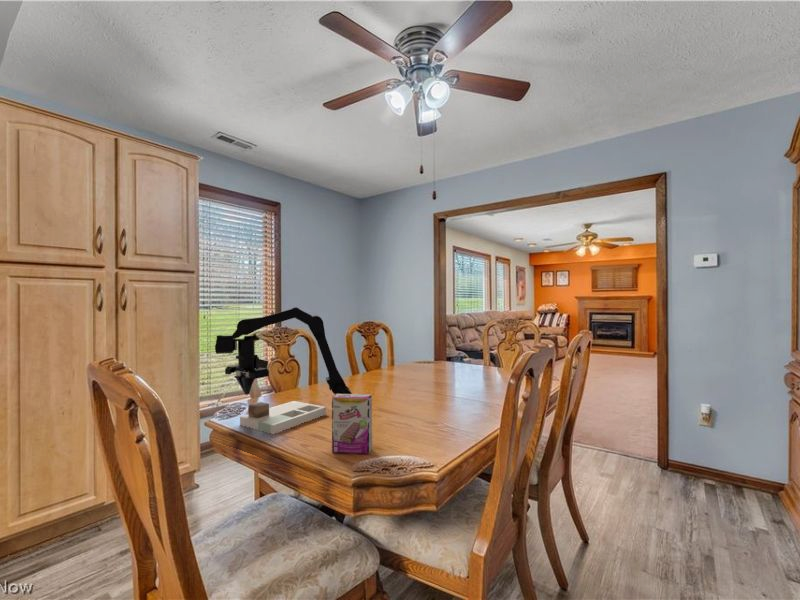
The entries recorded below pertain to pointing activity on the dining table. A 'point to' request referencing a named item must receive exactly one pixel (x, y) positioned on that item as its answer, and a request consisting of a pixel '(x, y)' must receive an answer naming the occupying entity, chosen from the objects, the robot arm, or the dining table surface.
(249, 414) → the walnut block
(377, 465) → the dining table surface
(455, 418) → the dining table surface
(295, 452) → the dining table surface
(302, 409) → the board
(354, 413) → the candy bar box
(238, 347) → the robot arm
